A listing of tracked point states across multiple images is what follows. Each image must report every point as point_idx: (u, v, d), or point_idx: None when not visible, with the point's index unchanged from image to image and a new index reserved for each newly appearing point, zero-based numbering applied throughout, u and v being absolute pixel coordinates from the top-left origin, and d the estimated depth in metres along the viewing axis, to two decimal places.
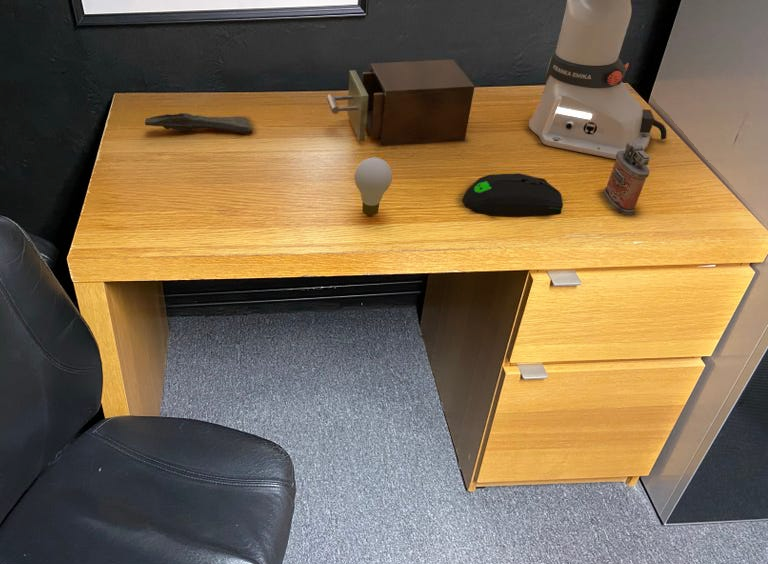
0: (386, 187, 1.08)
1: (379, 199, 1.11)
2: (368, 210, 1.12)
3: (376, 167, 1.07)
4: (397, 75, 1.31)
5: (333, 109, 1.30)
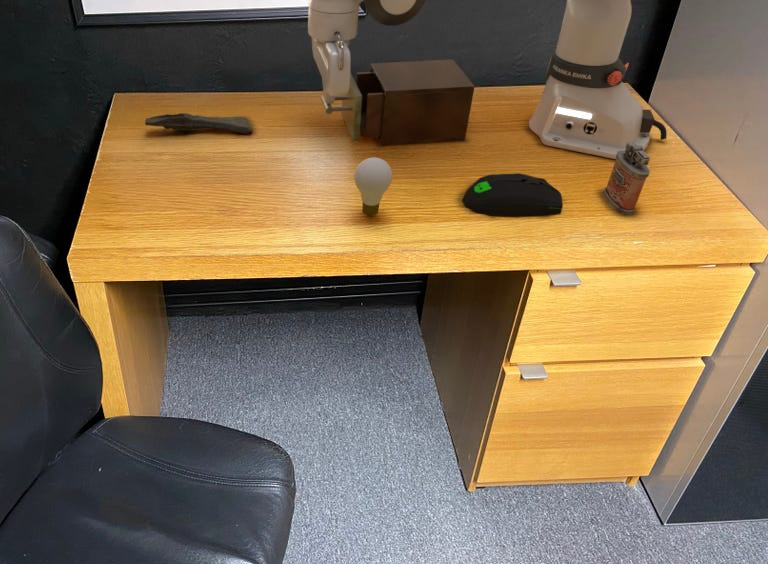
0: (386, 187, 1.08)
1: (379, 199, 1.11)
2: (368, 210, 1.12)
3: (376, 167, 1.07)
4: (397, 75, 1.31)
5: (327, 109, 1.30)
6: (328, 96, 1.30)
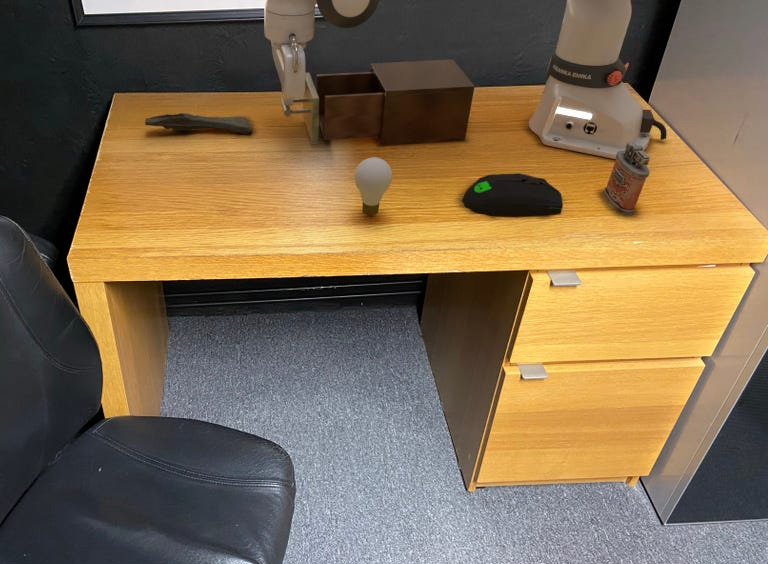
0: (386, 187, 1.08)
1: (379, 199, 1.11)
2: (368, 210, 1.12)
3: (376, 167, 1.07)
4: (397, 75, 1.31)
5: (285, 112, 1.30)
6: (286, 98, 1.30)
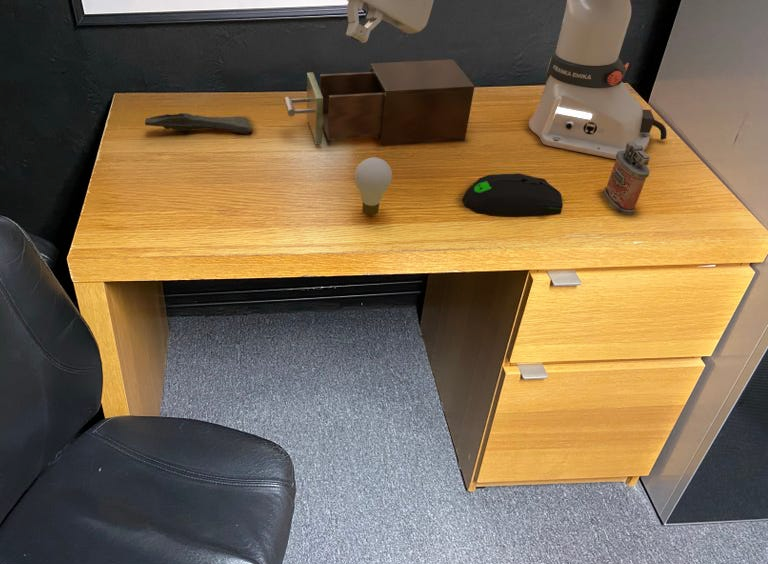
0: (386, 187, 1.08)
1: (379, 199, 1.11)
2: (368, 210, 1.12)
3: (376, 167, 1.07)
4: (397, 75, 1.31)
5: (289, 111, 1.30)
6: (350, 25, 1.02)
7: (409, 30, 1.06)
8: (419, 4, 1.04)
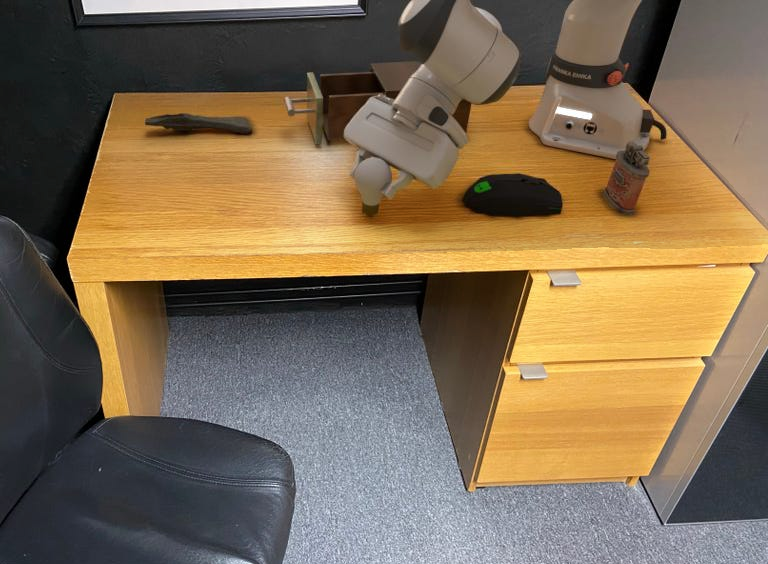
0: None
1: (379, 199, 1.11)
2: (368, 210, 1.12)
3: (376, 167, 1.07)
4: (397, 75, 1.31)
5: (289, 111, 1.30)
6: None
7: (424, 183, 1.05)
8: (429, 156, 1.03)
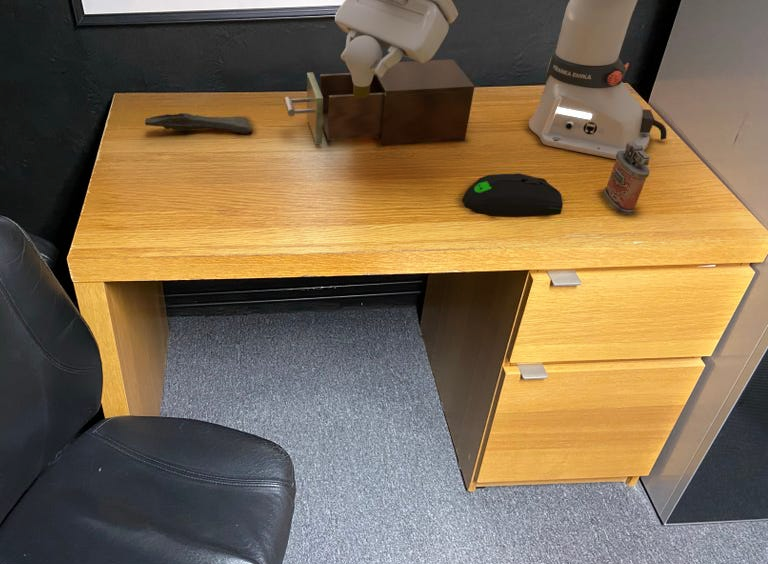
0: None
1: (369, 79, 1.11)
2: (359, 92, 1.13)
3: (366, 43, 1.07)
4: (397, 75, 1.31)
5: (289, 111, 1.30)
6: None
7: (414, 56, 1.05)
8: (418, 28, 1.04)
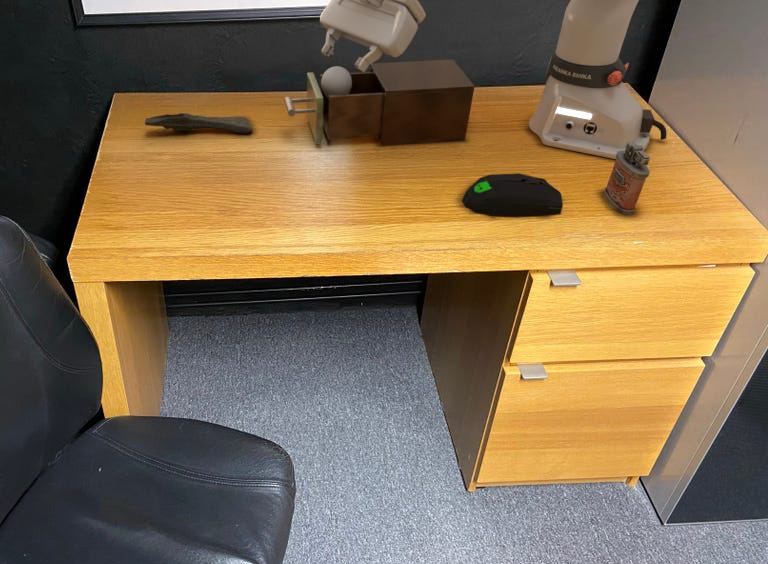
0: (347, 87, 1.30)
1: None
2: None
3: (336, 70, 1.29)
4: (397, 75, 1.31)
5: (289, 111, 1.30)
6: None
7: (387, 51, 1.21)
8: (391, 27, 1.20)
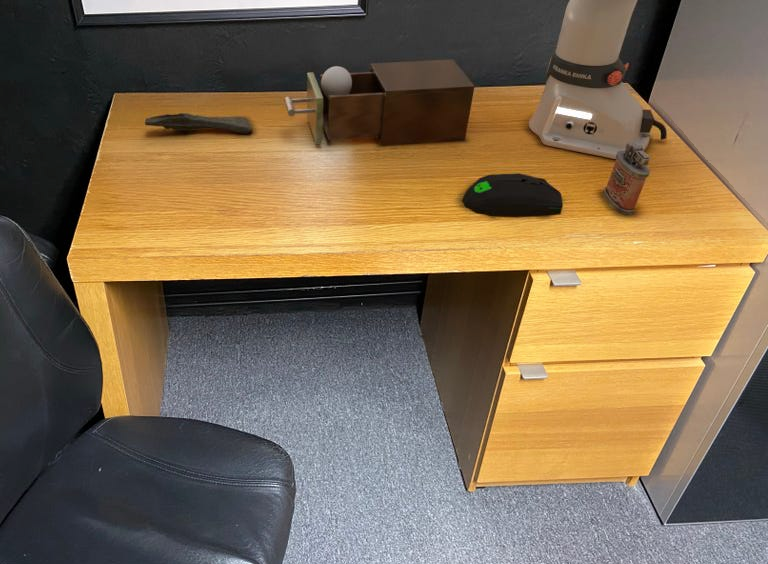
0: (347, 87, 1.30)
1: None
2: None
3: (336, 70, 1.29)
4: (397, 75, 1.31)
5: (289, 111, 1.30)
6: None
7: None
8: None
